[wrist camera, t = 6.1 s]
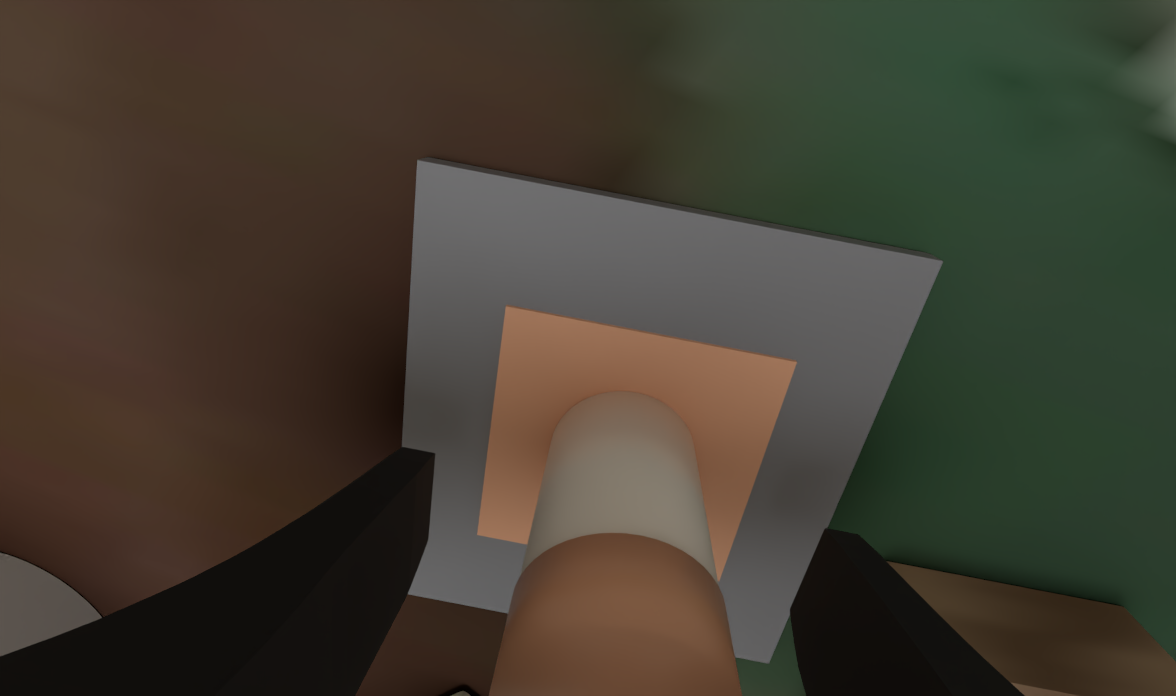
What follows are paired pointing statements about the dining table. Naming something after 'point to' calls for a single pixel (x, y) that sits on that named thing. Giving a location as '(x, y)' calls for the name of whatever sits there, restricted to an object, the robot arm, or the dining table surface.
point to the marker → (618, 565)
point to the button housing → (1048, 637)
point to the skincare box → (461, 694)
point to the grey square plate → (642, 368)
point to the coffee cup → (36, 605)
